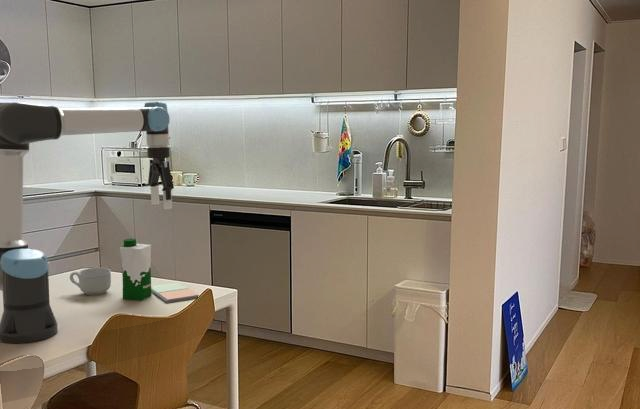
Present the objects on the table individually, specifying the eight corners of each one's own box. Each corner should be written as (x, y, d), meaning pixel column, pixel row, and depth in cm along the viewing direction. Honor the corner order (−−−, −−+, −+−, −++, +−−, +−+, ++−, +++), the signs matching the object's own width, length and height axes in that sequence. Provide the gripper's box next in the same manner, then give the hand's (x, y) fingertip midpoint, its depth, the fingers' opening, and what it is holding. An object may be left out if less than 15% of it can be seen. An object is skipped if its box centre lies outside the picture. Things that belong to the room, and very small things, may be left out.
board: (166, 303, 201) (166, 299, 200) (147, 289, 217) (147, 286, 217) (200, 297, 207) (200, 294, 207) (179, 285, 224) (179, 282, 224)
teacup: (117, 290, 216) (116, 268, 215) (101, 298, 206) (100, 275, 205) (81, 287, 219) (80, 266, 218) (64, 296, 208) (63, 273, 207)
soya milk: (131, 293, 212) (130, 237, 210) (155, 294, 211) (154, 238, 208) (118, 300, 204) (116, 241, 201) (143, 301, 202) (141, 243, 200)
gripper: (181, 147, 202) (184, 210, 205) (157, 144, 223) (160, 201, 226) (159, 148, 198) (162, 212, 201) (137, 145, 219) (140, 203, 222)
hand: (161, 206), depth 214 cm, fingers open, 13 cm apart
